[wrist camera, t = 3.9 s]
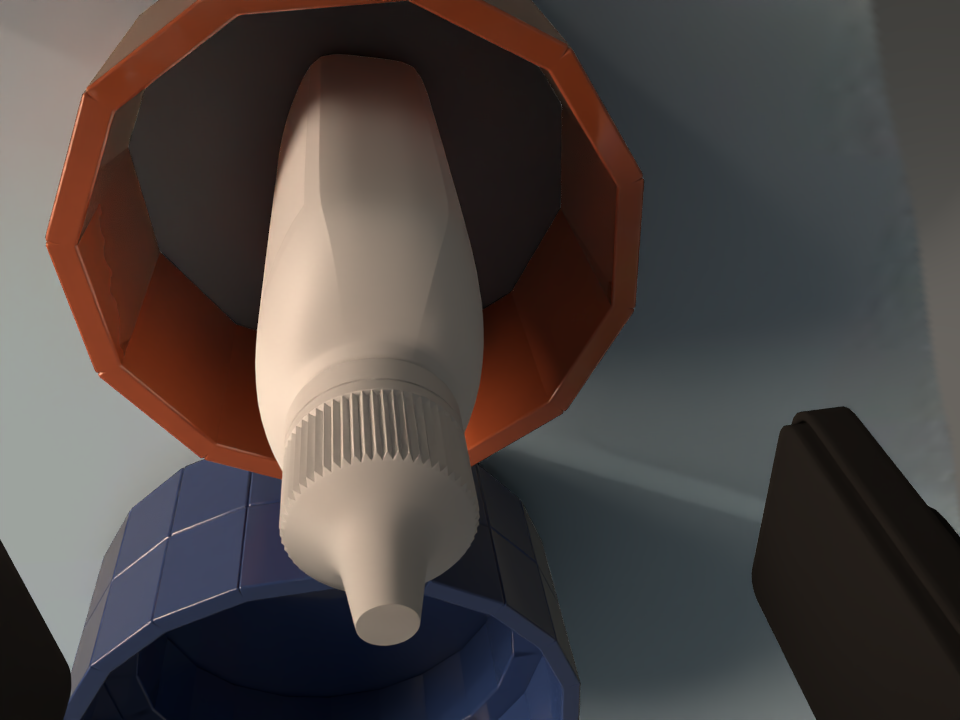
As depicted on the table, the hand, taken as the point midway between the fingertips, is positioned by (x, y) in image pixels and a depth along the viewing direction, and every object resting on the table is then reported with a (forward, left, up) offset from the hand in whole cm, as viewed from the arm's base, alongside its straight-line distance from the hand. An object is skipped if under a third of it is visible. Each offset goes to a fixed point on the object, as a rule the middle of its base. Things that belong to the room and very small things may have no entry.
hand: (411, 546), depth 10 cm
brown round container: (0, 0, -11) cm, 11 cm away
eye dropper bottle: (0, 0, -11) cm, 11 cm away
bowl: (+13, -3, -11) cm, 17 cm away
